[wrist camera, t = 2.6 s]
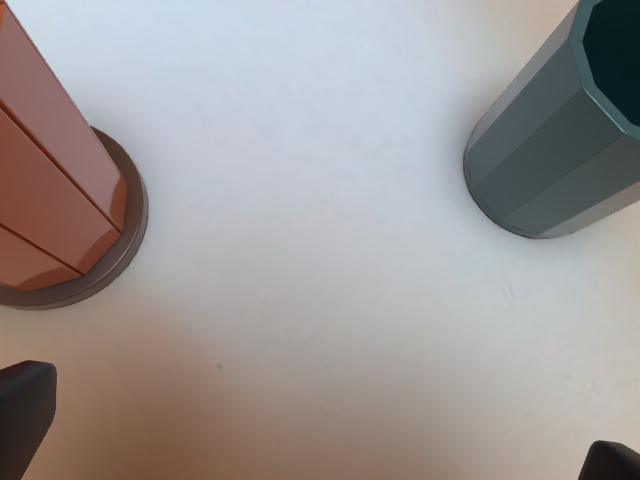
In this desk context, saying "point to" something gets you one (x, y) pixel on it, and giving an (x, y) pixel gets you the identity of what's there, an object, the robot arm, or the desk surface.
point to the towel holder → (111, 260)
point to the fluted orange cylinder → (49, 173)
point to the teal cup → (565, 128)
